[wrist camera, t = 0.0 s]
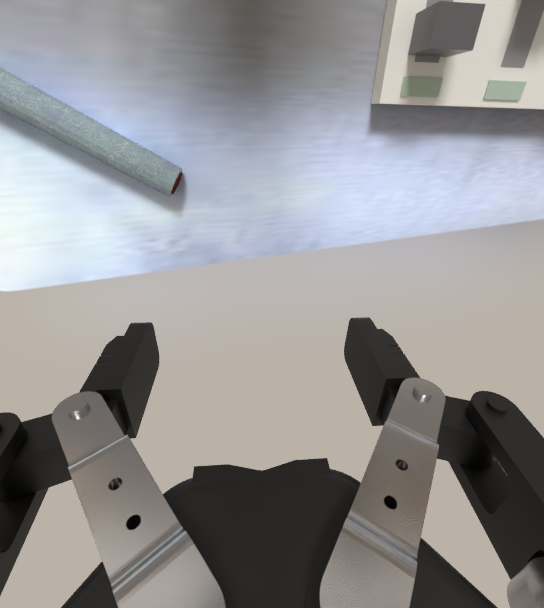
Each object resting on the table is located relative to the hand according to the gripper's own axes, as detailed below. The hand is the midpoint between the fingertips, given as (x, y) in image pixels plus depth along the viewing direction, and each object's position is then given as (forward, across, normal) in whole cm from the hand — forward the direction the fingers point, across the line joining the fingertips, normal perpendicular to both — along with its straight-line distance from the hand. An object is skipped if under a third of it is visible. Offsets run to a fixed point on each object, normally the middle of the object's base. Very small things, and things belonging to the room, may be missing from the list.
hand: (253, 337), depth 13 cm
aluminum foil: (+30, +18, -5) cm, 36 cm away
